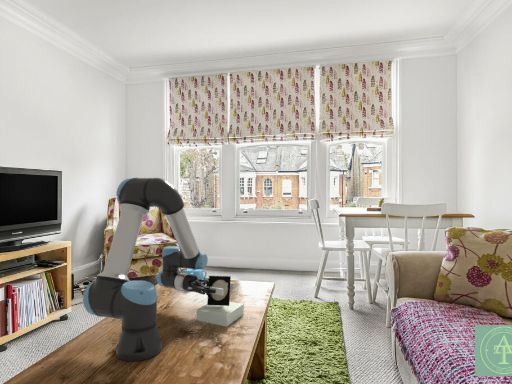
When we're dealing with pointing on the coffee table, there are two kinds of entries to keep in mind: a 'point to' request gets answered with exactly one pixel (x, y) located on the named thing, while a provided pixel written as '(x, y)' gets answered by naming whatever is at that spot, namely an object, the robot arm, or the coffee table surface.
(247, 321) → the coffee table surface
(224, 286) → the decorative object
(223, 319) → the sage block
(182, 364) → the coffee table surface
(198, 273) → the blue ceramic pot
